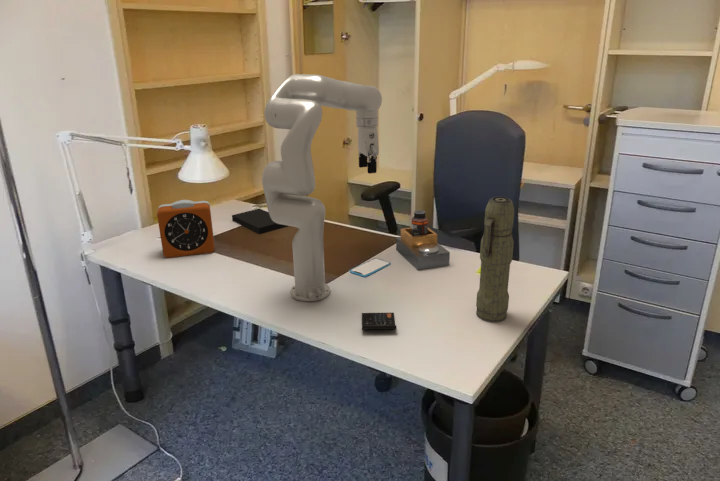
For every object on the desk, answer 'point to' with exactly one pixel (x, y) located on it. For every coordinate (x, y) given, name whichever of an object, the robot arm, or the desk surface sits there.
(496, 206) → the thermos
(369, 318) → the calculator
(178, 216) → the alarm clock
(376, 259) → the smartphone
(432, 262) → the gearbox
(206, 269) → the desk surface
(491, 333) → the desk surface
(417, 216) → the supplement bottle
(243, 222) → the external hard drive
